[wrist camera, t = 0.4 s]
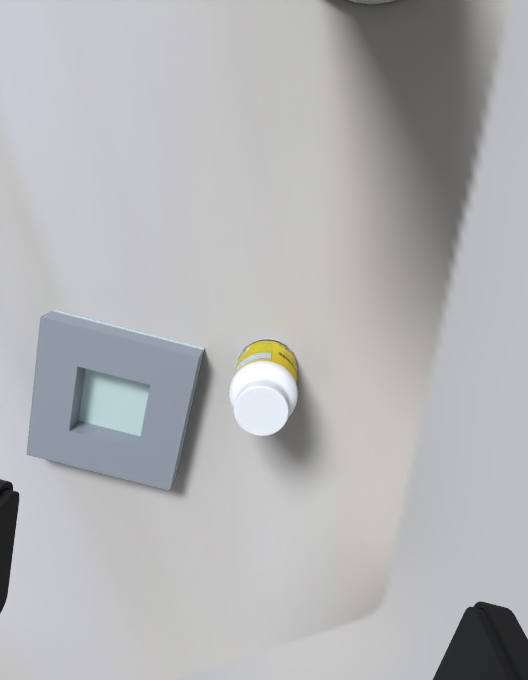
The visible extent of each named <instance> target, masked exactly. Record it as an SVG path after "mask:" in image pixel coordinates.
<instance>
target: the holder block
mask: <svg viewBox="0 0 528 680" xmlns="http://www.w3.org/2000/svg"><path fill="white" fill-rule="evenodd" d="M203 352H204V348H202V347H198V346H194V345H190V344H186V343H182V342H179V341H175V340H171V339H167V338H163V337H159V336H155V335H151V334H147V333H143V332H140V331H136V330H132V329H128V328H124V327H120V326H116V325H112V324H108V323H105V322H101V321H97V320H93V319H89V318H85V317H81V316H77V315H73V314H70V313H66V312H62V311H58V310H53V311H51V312H49V313H47V314H45V315H43V316H41V318H40V328H39V337H38V347H37V357H36V367H35V377H34V387H33V397H32V407H31V416H30V426H29V436H28V446H27V455H30V456H34V457H38V458H42V459H46V460H50V461H54V462H58V463H62V464H66V465H70V466H74V467H78V468H82V469H86V470H89V471H93V472H97V473H101V474H105V475H109V476H113V477H117V478H121V479H125V480H129V481H133V482H137V483H141V484H145V485H149V486H153V487H157V488H161V489H165V490H169V491H170V489H171V487H172V484H173V482H174V480H175V477H176V474H177V470H178V465H179V461H180V456H181V452H182V447H183V443H184V438H185V434H186V429H187V425H188V420H189V415H190V411H191V406H192V402H193V397H194V393H195V388H196V384H197V379H198V375H199V370H200V366H201V361H202V357H203Z"/></svg>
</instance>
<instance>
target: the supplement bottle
mask: <svg viewBox="0 0 528 680" xmlns="http://www.w3.org/2000/svg"><path fill="white" fill-rule="evenodd" d="M297 373H298V370H297V361H296V357H295V355H294V353H293V352H292V350H291V349H290V348H289V347H288V346H287V345H286V344H285V343H283V342H281V341H279V340H276V339H271V338H263V339H259V340H256V341H253V342H252V343H250V344H249V345H248V346H246V347H245V349H244V350H243V351H242V353H241V355H240V357H239V360H238V363H237V366H236V369H235V372H234V376H233V379H232V382H231V385H230V390H229V398H230V403H231V406H232V408H233V410H234V415H235V418H236V421H237V422H238V424H239V425H240V426H241V428H243V429H244V430H245V431H246V432H248V433H250V434H253V435H257V436H268V435H271V434H274V433H276V432H278V431H279V430H280V429H281V428H282V427H283V426H284V425H285V423H286V422H287V419H288V417H289V416H290V415H291V414H292V412H293V411H294V409H295V407H296V404H297V400H298V374H297Z"/></svg>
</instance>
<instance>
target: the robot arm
mask: <svg viewBox="0 0 528 680" xmlns="http://www.w3.org/2000/svg"><path fill="white" fill-rule="evenodd" d="M349 1H352V2H355V3H364V4H379V3H387V2H392V1H395V0H349ZM18 505H19V493H18V492H16V491H13V485H12V483H11V482H8V481H4V480H0V613H1V611H2V609H3V607H4V604H5V602H6V599H7V594H8V586H9V578H10V569H11V561H12V553H13V545H14V537H15V529H16V521H17V513H18ZM433 680H528V639H527V637H526V635H525V634H524V632H523V630H522V628H521V626H520V625H519V623H518V621H517V619H516V617H515V615H514V614H513V613H512V611H511V610H509V609H508V608H505V607H501V606H497V605H493V604H489V603H485V602H478V603H476V604H475V606H474V607H469V608H467V609H466V611H465V613H464V615H463V617H462V619H461V621H460V623H459V626H458V627H457V630H456V632H455V634H454V636H453V638H452V640H451V643H450V644H449V647H448V649H447V651H446V653H445V655H444V657H443V660H442V661H441V664H440V666H439V668H438V670H437V672H436V674H435V677H434V678H433Z"/></svg>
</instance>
